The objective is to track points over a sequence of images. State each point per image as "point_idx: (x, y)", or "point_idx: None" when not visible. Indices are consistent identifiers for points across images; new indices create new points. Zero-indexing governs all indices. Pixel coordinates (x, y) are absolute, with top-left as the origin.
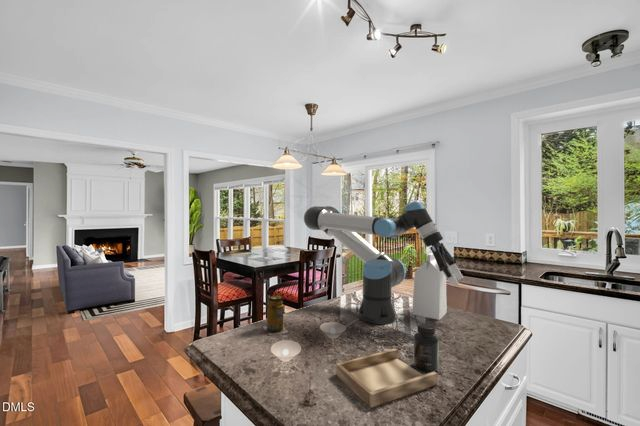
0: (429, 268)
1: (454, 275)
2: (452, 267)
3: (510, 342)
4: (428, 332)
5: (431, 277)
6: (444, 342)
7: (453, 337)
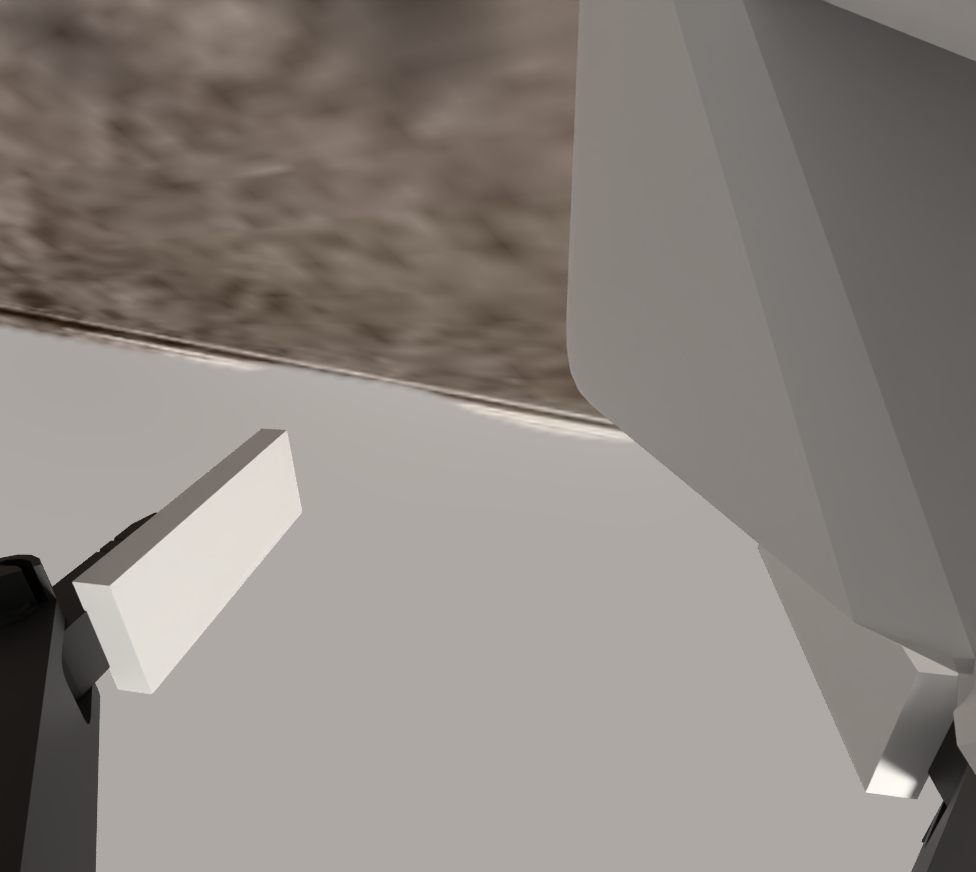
0: (655, 174)
1: None
2: (870, 668)
3: (442, 390)
4: None
5: (592, 66)
6: (116, 131)
7: (252, 167)
